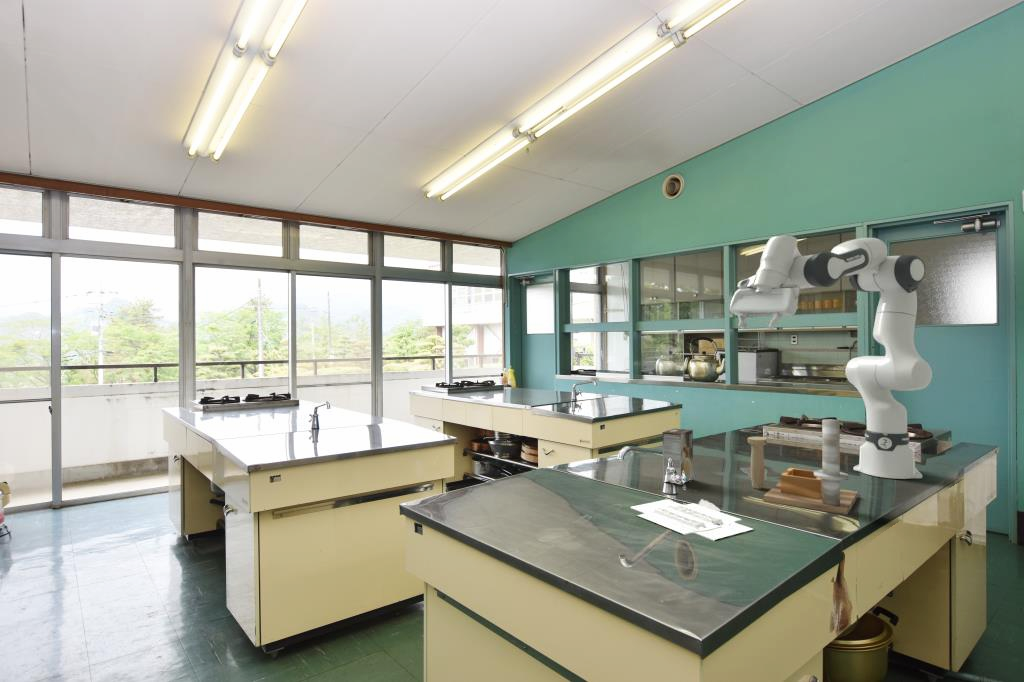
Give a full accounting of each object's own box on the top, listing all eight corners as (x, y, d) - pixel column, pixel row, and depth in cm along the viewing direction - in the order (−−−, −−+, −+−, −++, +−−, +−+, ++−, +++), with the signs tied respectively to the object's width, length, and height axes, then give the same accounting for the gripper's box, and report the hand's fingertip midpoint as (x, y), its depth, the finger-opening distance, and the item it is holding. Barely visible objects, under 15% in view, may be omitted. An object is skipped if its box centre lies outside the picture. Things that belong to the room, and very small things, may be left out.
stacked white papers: (704, 547, 121) (704, 530, 121) (620, 516, 145) (620, 502, 145) (764, 530, 131) (763, 514, 131) (675, 504, 155) (675, 491, 155)
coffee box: (674, 476, 179) (674, 427, 179) (693, 479, 175) (693, 429, 175) (662, 482, 172) (662, 431, 172) (681, 485, 168) (681, 433, 168)
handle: (744, 487, 165) (744, 438, 165) (755, 484, 169) (755, 436, 169) (760, 491, 161) (759, 440, 161) (770, 487, 165) (770, 438, 165)
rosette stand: (781, 485, 167) (780, 409, 167) (857, 497, 155) (857, 414, 155) (762, 501, 151) (762, 417, 151) (846, 516, 139) (846, 423, 138)
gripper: (808, 288, 154) (794, 333, 152) (746, 290, 172) (733, 331, 170) (795, 279, 151) (781, 325, 149) (734, 282, 169) (720, 323, 167)
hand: (755, 328), depth 160 cm, fingers open, 8 cm apart
